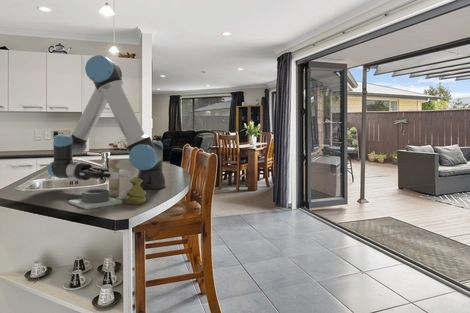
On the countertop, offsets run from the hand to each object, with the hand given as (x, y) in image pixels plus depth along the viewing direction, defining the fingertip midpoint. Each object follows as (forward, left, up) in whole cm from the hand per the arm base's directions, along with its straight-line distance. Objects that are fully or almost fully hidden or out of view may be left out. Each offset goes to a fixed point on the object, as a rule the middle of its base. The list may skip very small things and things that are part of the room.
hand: (123, 174), depth 134 cm
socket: (+14, +2, -10) cm, 17 cm away
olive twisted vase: (+2, +12, -10) cm, 16 cm away
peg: (+2, -5, -10) cm, 11 cm away
